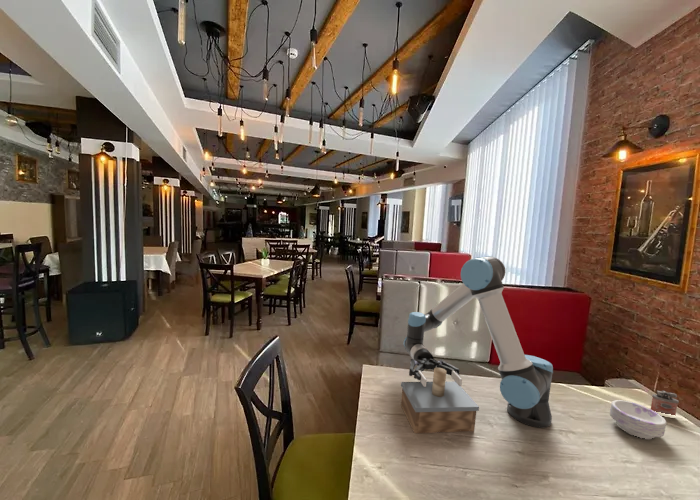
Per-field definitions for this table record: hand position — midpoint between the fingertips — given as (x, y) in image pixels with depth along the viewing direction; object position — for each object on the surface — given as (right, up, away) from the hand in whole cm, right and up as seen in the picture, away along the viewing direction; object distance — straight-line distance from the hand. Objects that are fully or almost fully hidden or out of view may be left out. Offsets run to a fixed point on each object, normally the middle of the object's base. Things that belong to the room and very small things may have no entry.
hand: (443, 383), depth 112 cm
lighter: (+95, -20, +17) cm, 99 cm away
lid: (-1, -7, +4) cm, 8 cm away
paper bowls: (+73, -20, +5) cm, 76 cm away
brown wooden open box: (-1, -15, +5) cm, 16 cm away
